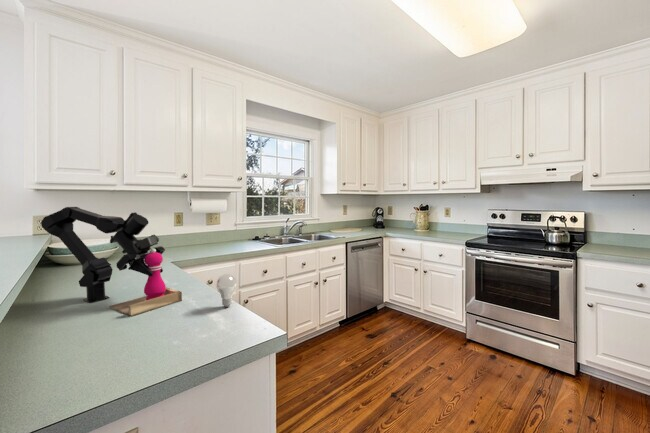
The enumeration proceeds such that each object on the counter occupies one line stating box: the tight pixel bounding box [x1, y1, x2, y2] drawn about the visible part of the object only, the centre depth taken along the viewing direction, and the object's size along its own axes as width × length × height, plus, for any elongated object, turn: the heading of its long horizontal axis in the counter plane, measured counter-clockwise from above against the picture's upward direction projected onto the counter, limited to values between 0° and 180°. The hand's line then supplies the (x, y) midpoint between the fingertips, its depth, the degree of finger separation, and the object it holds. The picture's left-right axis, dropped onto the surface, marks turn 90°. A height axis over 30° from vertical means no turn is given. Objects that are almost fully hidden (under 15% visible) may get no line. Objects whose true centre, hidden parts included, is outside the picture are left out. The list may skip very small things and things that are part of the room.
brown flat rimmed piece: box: [109, 287, 183, 318], centre depth 113 cm, size 16×18×4 cm
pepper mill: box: [143, 247, 166, 301], centre depth 114 cm, size 7×7×20 cm
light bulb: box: [215, 273, 237, 308], centre depth 109 cm, size 7×7×12 cm
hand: (157, 273), depth 113 cm, fingers closed on pepper mill, 5 cm apart
